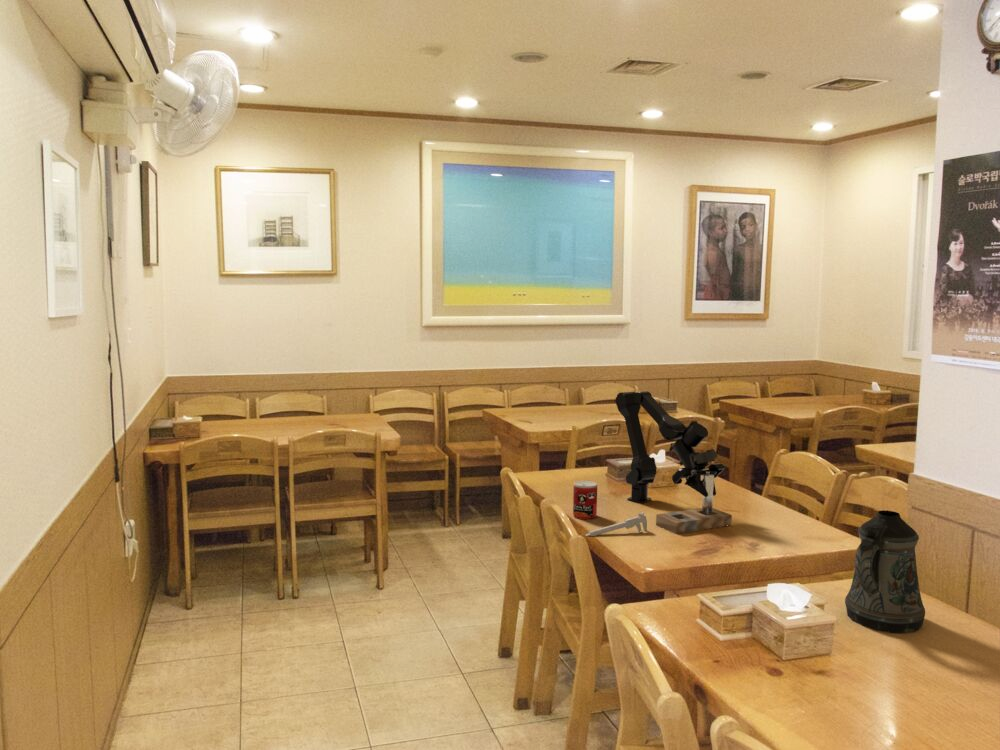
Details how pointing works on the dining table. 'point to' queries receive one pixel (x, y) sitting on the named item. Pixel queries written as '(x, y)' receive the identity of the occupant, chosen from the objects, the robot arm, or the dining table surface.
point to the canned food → (585, 499)
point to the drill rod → (708, 501)
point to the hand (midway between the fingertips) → (711, 495)
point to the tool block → (692, 520)
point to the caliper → (623, 525)
